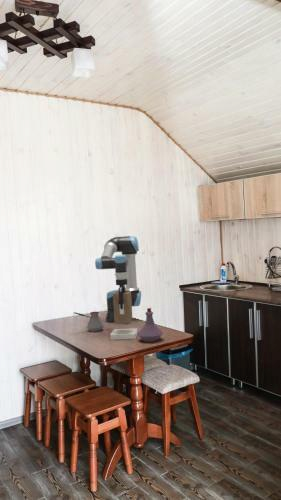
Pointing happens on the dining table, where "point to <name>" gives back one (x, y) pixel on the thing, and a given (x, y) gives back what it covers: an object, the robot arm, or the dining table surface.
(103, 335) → the dining table surface
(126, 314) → the wooden block
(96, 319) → the coffee pot
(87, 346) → the dining table surface
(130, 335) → the white square plate
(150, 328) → the flask
